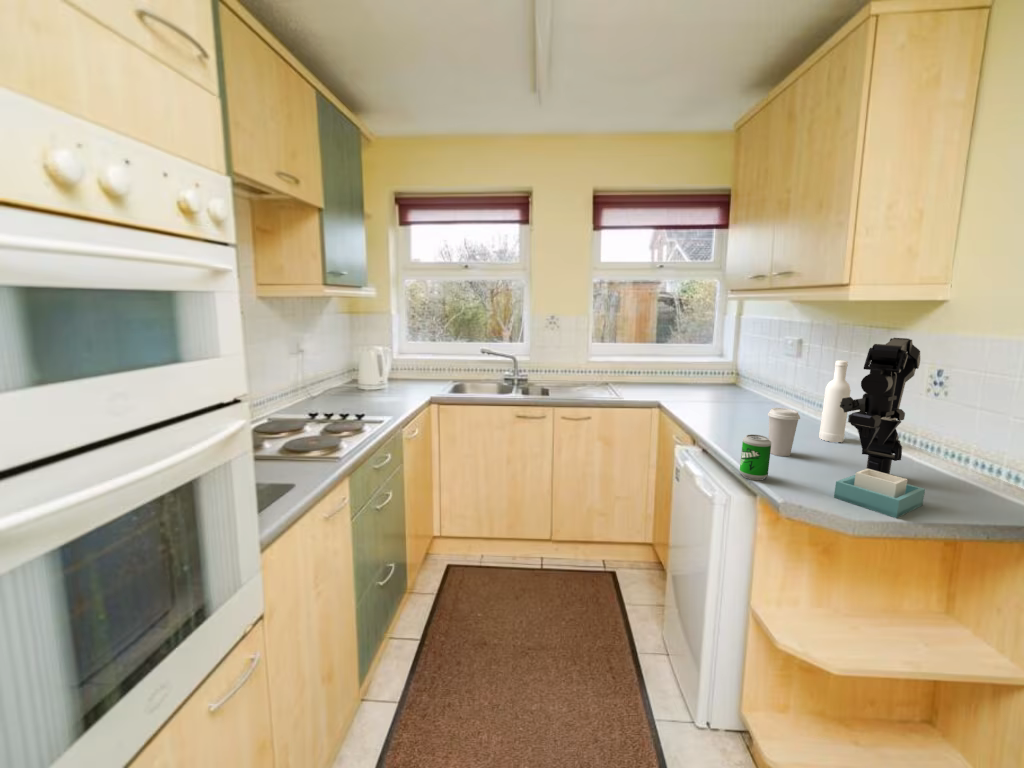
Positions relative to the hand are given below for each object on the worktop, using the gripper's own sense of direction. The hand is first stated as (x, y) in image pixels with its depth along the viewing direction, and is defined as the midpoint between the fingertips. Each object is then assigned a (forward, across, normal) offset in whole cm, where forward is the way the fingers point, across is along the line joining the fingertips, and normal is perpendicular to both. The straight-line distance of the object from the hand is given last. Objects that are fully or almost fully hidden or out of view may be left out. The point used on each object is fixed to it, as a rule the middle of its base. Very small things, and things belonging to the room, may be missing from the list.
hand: (872, 446), depth 134 cm
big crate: (+12, +8, +6) cm, 16 cm away
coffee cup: (+12, -9, -30) cm, 34 cm away
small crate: (+11, +8, +6) cm, 15 cm away
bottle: (+12, -43, -30) cm, 54 cm away
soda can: (+12, +20, -21) cm, 31 cm away
